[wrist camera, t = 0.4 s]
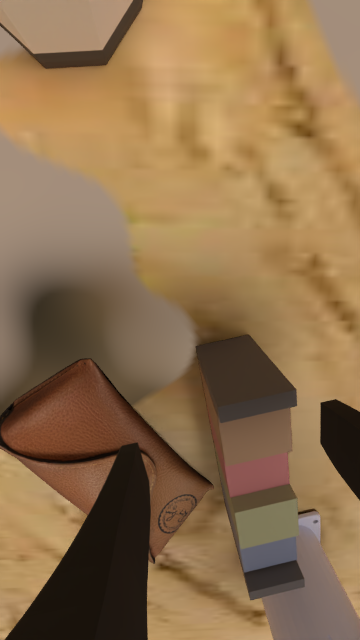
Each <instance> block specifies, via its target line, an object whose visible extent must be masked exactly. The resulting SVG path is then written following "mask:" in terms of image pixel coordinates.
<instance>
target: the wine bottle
mask: <svg viewBox="0 0 360 640" xmlns="http://www.w3.org/2000/svg"><path fill="white" fill-rule="evenodd" d="M142 2H143V0H0V26H1V27H2V28H3V29H4V30H5V31H7V32H8V33H9V34H10V35H11V36H12V37H13V38H14V39H15V40H16V41H17V42H18V43H19V44H20V45H22V46H23V47H24V48H25V49H26V50H27V51H28V52H29V53H30V54H31V55H32V56H33V57H34V58H36V59H37V60H38V61H39V62H40V63H41V64H42V65H43V66H44V67H45V68H60V67H78V66H95V65H106V64H107V62H108V61H109V59H110V58H111V56H112V54H113V53H114V51H115V50H116V48H117V46H118V45H119V43H120V42H121V40H122V38H123V37H124V35H125V34H126V32H127V31H128V29H129V27H130V26H131V24H132V23H133V21H134V19H135V18H136V16H137V15H138V13H139V11H140V10H141V8H142Z"/></svg>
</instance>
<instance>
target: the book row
mask: <svg viewBox="0 0 360 640" xmlns="http://www.w3.org/2000/svg"><path fill="white" fill-rule="evenodd" d="M196 351H197V357H198V360H199V367H200V373H201V378H202V383H203V389H204V394H205V399H206V405H207V410H208V415H209V421H210V426H211V431H212V437H213V442H214V447H215V453H216V458H217V463H218V469H219V474H220V479H221V485H222V490H223V495H224V501H225V506H226V510H227V513H228V517H229V521H230V525H231V529H232V532H233V536H234V540H235V544H236V547H237V551H238V555H239V559H240V563H241V566H242V570H243V574H244V578H245V582H246V585H247V589H248V593H249V597H250V600H254V599H258V598H262V597H266V596H270V595H274V594H278V593H282V592H286V591H290V590H294V589H298V588H303V587H305V579H304V576H303V574H302V572H301V569H300V567H299V565H298V562H297V548H296V536H299V524H298V504H297V497H296V495H295V493H294V491H293V489H292V488H291V486H290V483H289V467H288V452H291V451H292V433H291V415H290V407H295V406H297V395H296V389H295V388H294V387H293V385H292V384H291V383H290V382H289V381H288V380H287V378H286V377H285V376H284V375H283V374H282V373H281V371H280V370H279V369H278V368H277V367H276V366H275V364H274V363H273V362H272V361H271V360H270V359H269V358H268V356H267V355H266V354H265V353H264V352H263V351H262V349H261V348H260V347H259V346H258V345H257V344H256V342H255V341H254V340H253V339H252V338H251V337H250V336H249V335H245V336H240V337H236V338H231V339H227V340H222V341H217V342H213V343H208V344H204V345H199V346H196Z"/></svg>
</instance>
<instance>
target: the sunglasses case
mask: <svg viewBox="0 0 360 640" xmlns="http://www.w3.org/2000/svg"><path fill="white" fill-rule="evenodd" d="M137 442H138V445H139V448H140V452H141V455H142V458H143V462H144V465H145V468H146V472H147V475H148V479H149V485H150V505H151V518H150V539H149V559H148V560H149V561H150V562H152V563H154V564H155V557H156V556H157V555H158V554H159V553H160V551H161V550H162V549H163V548H164V546H165V545H166V544H167V542H168V541H169V540H170V539H171V537H172V536H173V535H174V533H175V532H176V531H177V530H178V529H179V527H180V526H181V525H182V523H183V522H184V521H185V520H186V518H187V517H188V516H189V515H190V513H191V512H192V511H193V509H194V508H195V507H196V506H197V504H198V503H199V501H200V500H201V499H202V498H203V496H204V494H205V493H206V492H207V491H208V490H210V489H214V486H213V484H212V483H211V482H210V481H209V480H207V479H206V478H204V477H203V476H201V475H200V474H199V473H197V472H196V471H195V470H194V469H193V468H191V467H190V466H189V465H188V464H187V463H186V462H185V461H183V459H182V458H180V457H179V456H178V455H177V454H176V453H175V452H174V451H173V450H172V449H171V448H170V447H169V446H168V445H167V444H166V443H165V442H164V441H163V439H161V438H160V437H159V436H158V435H157V433H156V432H154V430H153V429H152V428H150V426H149V425H148V424H147V423H146V422H145V421H144V420H143V419H142V418H141V416H139V415H138V414H137V412H136V411H134V410H133V408H132V406H131V405H130V403H129V402H128V401H127V400H126V399H125V398H124V397H123V396H122V395H121V394H120V392H119V391H118V390H117V389H116V387H115V386H114V385H113V384H112V382H111V381H110V380H109V378H108V377H107V376H106V375H105V374H104V372H103V371H102V370H101V369H100V368H99V366H98V365H97V364H96V363H95V362H94V361H93V360H92V359H79V360H77V361H76V362H74V363H72V364H71V365H69V366H67V367H65V368H64V369H62V370H60V371H59V372H57V373H56V374H55V375H53V376H51V377H50V378H48V379H46V380H45V381H43V382H42V383H40V384H39V385H37V386H35V387H34V388H32V389H31V390H29V391H28V392H26V393H25V394H23V395H22V396H20V397H19V398H18V399H16V400H15V401H14V402H13V403H12V404H11V405H10V406H9V407H8V408H7V409H6V410H5V411H4V412H3V413H2V415H1V416H0V449H2V450H4V451H6V452H7V453H8V454H11V455H12V456H14V457H15V458H17V459H18V460H19V461H20V462H22V463H23V464H24V465H25V466H26V467H27V468H29V469H30V470H31V471H32V472H34V473H35V474H36V475H37V476H38V477H40V478H41V479H42V480H43V481H45V482H46V483H47V484H48V485H49V486H51V487H52V488H53V489H54V490H56V491H57V492H58V493H59V494H61V495H62V496H63V497H65V498H66V499H67V500H68V501H70V502H71V503H72V504H74V505H75V506H76V507H78V508H79V509H81V510H82V511H83V512H84V513H86V514H87V515H88V514H89V512H90V511H91V509H92V507H93V505H94V503H95V501H96V499H97V497H98V495H99V493H100V491H101V489H102V487H103V485H104V483H105V481H106V479H107V477H108V474H109V472H110V470H111V468H112V466H113V463H114V461H115V459H116V456H117V454H118V452H119V449H120V448H121V446H123V445H128V444H132V443H137Z"/></svg>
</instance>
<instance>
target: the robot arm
mask: <svg viewBox="0 0 360 640" xmlns="http://www.w3.org/2000/svg"><path fill="white" fill-rule="evenodd" d="M320 443H321V445H322V447H323V448H324V450H325V452H326V454H327V455H328V457H329V459H330V460H331V462H332V463H333V465H334V467H335V468H336V470H337V471H338V473H339V474H340V475H341V477H342V478H343V479H344V481H345V482H346V483H347V484H348V486H349V487H350V488H351V490H352V491H353V492H354V494H355V495H356V496H357V498H358V499H359V500H360V412H359V411H357V410H355V409H353V408H352V407H350V406H348V405H346V404H344V403H342V402H340V401H338V400H336V399H335V400H331V401H326V402H322V403H321V437H320ZM150 518H151V505H150V485H149V479H148V475H147V472H146V468H145V465H144V462H143V458H142V455H141V452H140V448H139V445H138V442H137V443H132V444H128V445H123V446H121V448H120V449H119V452H118V454H117V456H116V459H115V461H114V463H113V466H112V468H111V470H110V472H109V474H108V477H107V479H106V481H105V483H104V485H103V487H102V489H101V491H100V493H99V495H98V497H97V499H96V501H95V503H94V505H93V507H92V509H91V511H90V512H89V514H88V516H87V518H86V520H85V521H84V523H83V525H82V527H81V529H80V530H79V532H78V534H77V536H76V537H75V539H74V541H73V542H72V544H71V546H70V547H69V549H68V551H67V552H66V554H65V555H64V557H63V558H62V560H61V562H60V563H59V565H58V566H57V568H56V569H55V571H54V572H53V574H52V575H51V577H50V578H49V580H48V581H47V583H46V584H45V585H44V587H43V588H42V590H41V591H40V593H39V594H38V596H37V597H36V599H35V600H34V601H33V603H32V604H31V606H30V607H29V608H28V610H27V611H26V612H25V614H24V615H23V617H22V618H21V619H20V620H19V622H18V623H17V624H16V626H15V627H14V628H13V630H12V631H11V632H10V633H9V635H8V636H7V637H6V639H5V640H148V638H147V579H148V559H149V539H150ZM298 524H299V536H296V548H297V562H298V565H299V567H300V569H301V572H302V574H303V576H304V579H305V587H303V588H298V589H294V590H290V591H286V592H282V593H278V594H274V595H270V596H266V597H262V602H263V605H264V608H265V612H266V615H267V619H268V622H269V625H270V629H271V632H272V636H273V639H274V640H360V619H359V617H358V615H357V613H356V611H355V609H354V607H353V605H352V603H351V602H350V600H349V598H348V596H347V594H346V592H345V590H344V588H343V586H342V584H341V583H340V581H339V579H338V577H337V575H336V573H335V571H334V569H333V567H332V565H331V563H330V562H329V560H328V558H327V556H326V554H325V552H324V550H323V548H322V546H321V544H320V515H319V513H318V512H316V511H313V512H308V513H304V514H300V515H298Z"/></svg>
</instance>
